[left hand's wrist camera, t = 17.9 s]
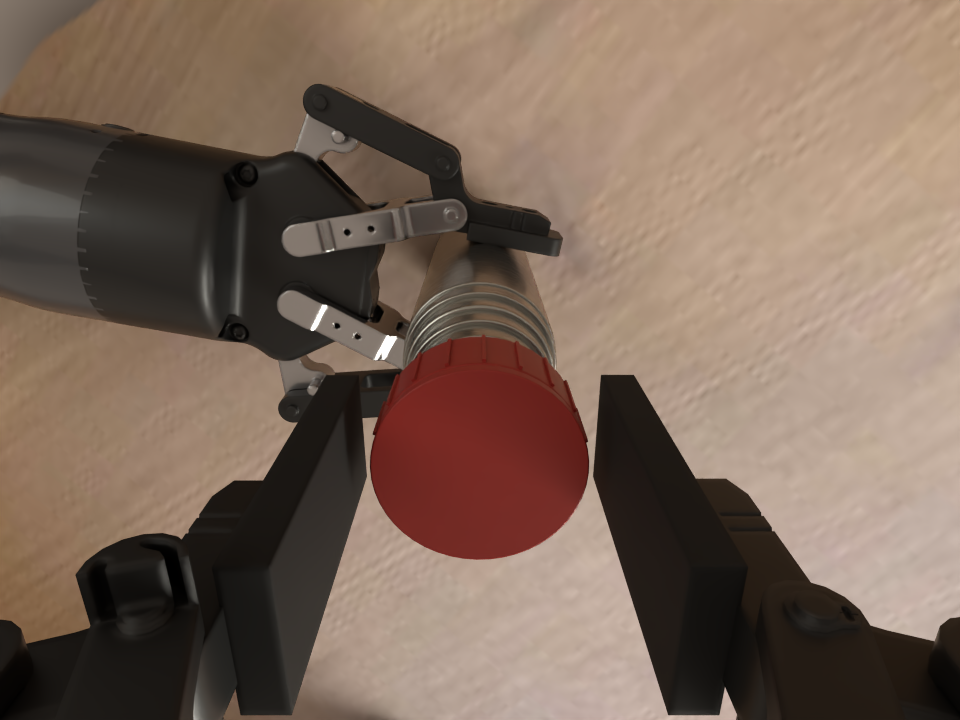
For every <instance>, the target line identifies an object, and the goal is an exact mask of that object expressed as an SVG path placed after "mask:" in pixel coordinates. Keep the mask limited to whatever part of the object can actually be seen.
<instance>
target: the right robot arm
mask: <svg viewBox="0 0 960 720" xmlns="http://www.w3.org/2000/svg"><path fill="white" fill-rule="evenodd" d="M303 105H304V108H305V110H306V112H307V114H306V117H305V120H304V123H303V126H302V128H301V131H300V134H299V137H298V140H297V143H296V146H295V149H294V151H289V152H284V153H281V154H279V155H276V156H273V157H264V156H257V155H252V154H247V153H241V152H236V151H231V150H226V149H221V148H216V147H211V146H205V145H200V144H195V143H190V142H185V141H180V140H175V139H169V138H164V137H159V136H154V135H149V134H144V133H138V132H135V131H134V130H131V129H129V128H126V127H122V126H118V125H113V124H105V125H97V124H92V123H87V122H81V121H74V120H68V119H60V118H47V117H27V116H16V115H9V114H4V113H0V297H3V298H7V299H10V300H14V301H17V302H20V303H23V304H26V305H29V306H32V307H36V308H39V309H43V310H47V311H52V312H57V313H62V314H68V315H74V316H79V317H85V318H91V319H97V320H103V321H108V322H114V323H119V324H125V325H131V326H136V327H142V328H148V329H154V330H160V331H166V332H171V333H177V334H183V335H189V336H194V337H200V338H206V339H211V340H218V341H228V342H241V343H246V344H249V345H251V346H254V347H256V348H257V349H259V350H261V351H262V352H264V353H265V354H266V355H268V356H269V357H271V358H273V359H276V360H278V361H279V366H280V371H281V376H282V380H283V385H284V390H285V396H284V397H283V399H282V400H281V402H280V403H279V406H278V411H279V414H280V415H281V417H282V418H283V419H285V420H286V421H289V422H298V421H299V420H300V418H301V416H302V415H303V413H304V411H305V410H306V408H307V406H308V405H309V403H310V401H311V400H312V398H313V396H314V395H315V393H316V391H317V390H318V388H319V386H320V385H321V383H322V381H323V380H324V378H325V376H326V375H359V382H360V395H361V408H362V418H371V417H378V416H379V413H380V410H381V407H382V404H383V402H384V401H385V402H386V401H387V398H388V395H389V392H390V390H391V388H392V385H393V382H394V379H395V376H396V375H397V374H398V375H400V374H401V372H402V371H403V352H404V342H405V337H406V333H407V330H408V327H409V324H410V321H408V320H406V319H405V318H403V317H402V316H401V314H400V313H399V312H398V311H396V310H395V309H393V308H391V307H389V306H387V305H386V304H384V303H382V302H380V301H378V296H379V288H380V287H379V280H378V272H377V268H378V265H379V263H380V261H381V258H382V256H383V254H384V251H385V243H391V242H397V241H402V240H405V239H408V238H411V237H417V236H424V235H431V234H437V233H444V232H451V231H456V232H461V233H466V234H467V238H466V240H468V241H474V242H479V243H485V244H492V245H496V246H500V247H505V248H511V249H516V250H521V251H527V252H532V253H537V254H543V255H548V256H559V253H560V249H561V244H562V240H563V238H562V236H561V235H560V233H559V232H557V231H554V230H551V229H550V225H551V222H550V221H549V219H548V218H547V217H546V216H544V215H543V214H541V213H540V212H538V211H537V210H532V209H527V208H522V207H517V206H511V205H507V204H501V203H496V202H491V201H486V200H481V199H477V198H475V197H473V196H472V195H471V194H469V192H468V191H467V189H466V187H465V184H464V179H463V173H462V167H461V155H460V152H459V150H458V149H457V148H456V147H455V146H453V145H452V144H450V143H448V142H446V141H444V140H442V139H440V138H438V137H436V136H434V135H432V134H430V133H428V132H426V131H424V130H422V129H420V128H418V127H416V126H414V125H412V124H410V123H408V122H406V121H404V120H402V119H400V118H398V117H396V116H394V115H392V114H390V113H388V112H386V111H384V110H382V109H380V108H378V107H376V106H374V105H372V104H370V103H368V102H366V101H364V100H362V99H360V98H358V97H356V96H354V95H352V94H350V93H348V92H346V91H344V90H342V89H340V88H337V87H333V86H329V85H323V84H315V85H312V86H310V87H309V88H308V89H307V90H306V91H305V93H304V97H303ZM361 143H364V144H366V145H368V146H370V147H372V148H374V149H377V150H379V151H381V152H383V153H385V154H387V155H389V156H391V157H393V158H395V159H397V160H399V161H401V162H403V163H405V164H407V165H409V166H411V167H413V168H415V169H417V170H419V171H421V172H423V173H425V174H428V175H429V178H430V184H431V189H432V194H433V195H426V196H420V197H412V198H409V197H407V198H398V199H391V200H385V201H378V202H371V203H365V202H364V201H363V200H362V199H361V198H360V197H359V196H358V195H357V194H356V193H355V192H354V191H353V190H352V189H351V188H350V187H349V186H348V185H347V184H346V183H345V182H344V181H343V180H342V179H341V178H340V177H339V176H338V175H337V174H336V173H335V172H334V171H333V170H332V169H331V168H330V167H329V166H328V165H327V164H326V163H325V162H324V161H323V160H322V159H323V157H324V156H325V154H326V153H328V152H329V151H336V152H339V153H348V152H352V151H355V150H356V149H357V148H359V146H360V145H361ZM358 334H360V335H358ZM335 341H336V342H338V343H340V344H342V345H344V346H346V347H348V348H350V349H352V350H354V351H356V352H358V353H360V354H362V355H364V356H366V357H368V358H370V359H372V360H377V361H379V360H383V361H386V362H388V363H390V364H392V365H394V366H396V367H398V368H400V369H385V370H370V371H355V372H340V373H335V372H334V370H333V369H332V368H331V367H330V366H329V365H327V364H323V363H316V362H313V361H312V360H310V359H309V358H308V357H307V354H309V353H311V352H313V351H315V350H317V349H320V348H322V347H324V346H326V345H328V344H330V343H333V342H335Z"/></svg>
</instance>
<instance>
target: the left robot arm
mask: <svg viewBox="0 0 960 720" xmlns="http://www.w3.org/2000/svg"><path fill="white" fill-rule="evenodd" d="M366 477H367V472H366V460H365V447H364V434H363V421H362V408H361V395H360V382H359V375H326V376H325V378H324V380H323V381H322V383H321V385H320V386H319V388H318V390H317V391H316V393H315V395H314V396H313V398H312V400H311V401H310V403H309V405H308V406H307V408H306V410H305V411H304V413H303V415H302V416H301V418H300V420H299V421H298V423H297V425H296V426H295V428H294V430H293V432H292V433H291V435H290V437H289V438H288V440H287V442H286V443H285V445H284V447H283V448H282V450H281V452H280V453H279V455H278V457H277V458H276V460H275V462H274V463H273V465H272V467H271V468H270V470H269V472H268V473H267V475H266V477H265V478H264V480H263V481H233V482H232V483H230V484H229V485H227V486H226V487H225V488H223V489H222V490H220V491H219V492H218V493H216V494H215V495H213V496H212V497H211V499H210V500H209V502H208V503H207V504H206V506H205V507H204V509H203V510H202V512H201V513H200V514H199V518H197V519H196V520H195V521H194V523H193V524H192V526H191V527H190V529H189V533H188V534H185V536H184V537H183V538H182V540H181V539H180V538H179V537H177V536H173V535H168V534H164V533H158V534H143V535H139V536H135V537H131V538H127V539H123V540H121V541H119V542H117V543H114V544H112V545H110V546H108V547H106V548H104V549H102V550H100V551H99V552H98V553H96V554H95V555H94V556H92V557H91V558H90V559H88V560H87V561H86V562H85V563H84V564H83V566H82V567H81V568H80V570H79V571H78V572H77V574H76V578H77V582H78V585H79V588H80V592H81V595H82V598H83V602H84V605H85V608H86V612H87V615H88V619H89V622H90V628H89V629H85V630H82V631H79V632H75V633H71V634H67V635H62V636H58V637H54V638H50V639H45V640H41V641H37V642H32V643H28V644H26V642H25V639H24V636H23V633H22V631H21V628H19V627H18V626H17V625H16V624H14V623H13V622H12V621H7V620H0V720H224V718H223V716H224V714H225V712H226V709H227V707H228V705H229V702H230V700H231V698H232V695H233V693H234V691H235V689H236V694H237V699H238V704H239V709H240V714H241V715H292V712H293V709H294V706H295V703H296V700H297V696H298V693H299V690H300V687H301V684H302V681H303V677H304V674H305V671H306V668H307V665H308V662H309V658H310V655H311V652H312V649H313V646H314V643H315V639H316V636H317V633H318V630H319V627H320V623H321V620H322V617H323V614H324V611H325V608H326V604H327V601H328V598H329V595H330V592H331V589H332V585H333V582H334V579H335V576H336V573H337V570H338V566H339V563H340V560H341V557H342V554H343V550H344V547H345V544H346V541H347V538H348V535H349V531H350V528H351V525H352V522H353V519H354V516H355V512H356V509H357V506H358V503H359V500H360V497H361V493H362V490H363V487H364V484H365V481H366ZM593 477H594V481H595V484H596V487H597V490H598V493H599V497H600V500H601V503H602V506H603V509H604V512H605V516H606V519H607V522H608V525H609V528H610V531H611V535H612V538H613V541H614V544H615V547H616V550H617V554H618V557H619V560H620V563H621V566H622V570H623V573H624V576H625V579H626V582H627V585H628V589H629V592H630V595H631V598H632V601H633V604H634V608H635V611H636V614H637V617H638V620H639V623H640V627H641V630H642V633H643V636H644V639H645V643H646V646H647V649H648V652H649V655H650V658H651V662H652V665H653V668H654V671H655V674H656V677H657V681H658V684H659V687H660V690H661V693H662V696H663V700H664V703H665V706H666V709H667V712H668V715H719V714H720V709H721V704H722V699H723V694H724V689H725V688H726V690H727V692H728V694H729V697H730V699H731V701H732V704H733V706H734V708H735V711H736V713H737V718H736V720H960V617H957V618H950V619H948V620H947V621H946V622H945V623H943V624H942V625H941V626H940V628H939V631H938V633H937V636H936V639H935V641H930V640H926V639H922V638H917V637H913V636H909V635H904V634H900V633H896V632H891V631H887V630H883V629H880V628H877V627H873V626H870V624H869V623H868V621H867V620H866V618H865V617H864V615H863V614H862V612H861V611H860V609H858V608H857V607H856V606H855V605H854V604H852V603H851V602H850V601H849V600H848V599H846V598H845V597H844V596H842V595H840V594H838V593H836V592H834V591H832V590H830V589H828V588H826V587H824V586H820V585H817V584H813V583H811V582H810V581H809V579H808V578H807V576H806V575H805V574H804V572H803V571H802V569H801V568H800V567H799V565H798V564H797V562H796V561H795V560H794V558H793V557H792V555H791V554H790V553H789V551H788V550H787V548H786V547H785V546H784V544H783V543H782V541H781V540H780V538H779V537H778V536H777V534H776V533H775V531H772V527H771V526H770V524H769V523H768V522H767V520H766V519H765V517H764V516H761V512H760V510H759V509H758V508H757V506H756V505H755V503H754V502H753V501H752V499H751V498H750V496H749V495H748V494H747V493H745V492H744V491H743V490H741V489H740V488H738V487H737V486H736V485H734V484H733V483H731V482H730V481H729V480H727V479H696V478H695V477H694V475H693V473H692V472H691V470H690V468H689V467H688V465H687V463H686V462H685V460H684V458H683V457H682V455H681V453H680V452H679V450H678V448H677V447H676V445H675V443H674V442H673V440H672V438H671V437H670V435H669V433H668V432H667V430H666V428H665V426H664V425H663V423H662V421H661V420H660V418H659V416H658V415H657V413H656V411H655V410H654V408H653V406H652V405H651V403H650V401H649V400H648V398H647V396H646V395H645V393H644V391H643V390H642V388H641V386H640V385H639V383H638V381H637V380H636V378H635V376H634V375H601V382H600V395H599V408H598V421H597V434H596V447H595V460H594V472H593Z"/></svg>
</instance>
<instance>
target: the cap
mask: <svg viewBox="0 0 960 720" xmlns="http://www.w3.org/2000/svg"><path fill="white" fill-rule="evenodd" d="M373 435H375V437H374V440H373V444H372V450H371V455H370V472H371V480H372V484H373V487H374V491H375V494H376V496H377V498H378V501H379V503H380V505H381V506H382V508H383V510H384V511H385V513H386V514H387V516H388V517H389V518H390V519H391V521H392V522H393V523H394V524H395V525H396V526H397V527H398V528H399V529H400V530H401V531H402V532H403V533H404V534H406V535H407V536H408V537H410V538H411V539H412V540H414V541H415V542H417V543H419V544H421V545H422V546H424V547H426V548H429V549H431V550H433V551H436V552H438V553H442V554H445V555H448V556H452V557H458V558H463V559H476V560H478V559H495V558H502V557H507V556H511V555H515V554H518V553H521V552H523V551H526V550H529V549H531V548H533V547H535V546H537V545H539V544H540V543H542V542H543V541H545V540H547V539H548V538H550V537H551V536H552V535H553V534H555V533H556V532H557V531H558V530H559V529H560V528H561V527H562V526H563V525H564V524H565V523H566V522H567V521H568V520H569V519H570V517H571V516H572V514H573V513H574V511H575V510H576V508H577V507H578V505H579V503H580V501H581V499H582V497H583V494H584V491H585V488H586V485H587V479H588V474H589V456H588V448H587V444H586V442H588V439H587V436H586V433H585V430H584V427H583V424H582V421H581V418H580V415H579V412H578V409H577V408H576V406H575V403H574V400H573V397H572V394H571V391H570V388H569V385H568V382H567V381H566V380H565V381H563V379H562V378H561V376H560V375H559V374H558V372H557V371H556V370H555V369H554V368H553V366H551V365H550V364H549V362H548V359H547V358H546V357H544V358H542V357H541V356H540V355H538V354H537V353H535V352H534V351H532V350H530V349H528V348H526V347H524V346H522V345H520V344H519V342H518V341H515V343H514V342H511V341H508V340H504V339H499V338H495V337H486V335H482V337H466V338H460V339H455V340H452V339H451V338H450V339H448V342H444V343H442V344H440V345H437V346H435V347H433V348H431V349H429V350H427V351H426V352H424V353H421V352H420V353H418V355H417V358H416V359H414V360H413V361H412V362H411V363H410V364H409V365H408V366H407V367H406V368H405V369H404V370H403V371H402V372H401V374H400V375H398V374H397V375H396V376H395V379H394V382H393V385H392V388H391V390H390V392H389V395H388V398H387V401H386V402H385V401H384V402H383V404H382V407H381V410H380V413H379V416H378V419H377V422H376V425H375V428H374V431H373Z"/></svg>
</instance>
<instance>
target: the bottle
mask: <svg viewBox="0 0 960 720" xmlns="http://www.w3.org/2000/svg"><path fill="white" fill-rule="evenodd" d="M466 238H467V234H466V233H461V232H456V231H451V232H444V233H442V234H441V236H440V238H439V240H438V242H437V245H436V247H435V250H434V253H433V256H432V259H431V262H430V265H429V268H428V271H427V274H426V277H425V280H424V283H423V286H422V289H421V292H420V295H419V298H418V301H417V304H416V306H415V309H414V312H413V315H412V318H411V321H410V324H409V327H408V330H407V333H406V337H405V342H404V352H403V370H404V369H405V368H406V367H407V366H408V365H409V364H410V363H411V362H412V361H413V360H414V359H416V358H417V355H418V353H420V352H421V353H424V352H426V351H427V350H429V349H431V348H433V347H435V346H437V345H440V344H442V343H444V342H448V339H450V338H451V339H452V340H455V339H460V338H466V337H482V335H486V337H495V338H499V339H504V340H508V341H511V342H514V343H515V341H518V342H519V344H520V345H522V346H524V347H526V348H528V349H530V350H532V351H534V352H535V353H537V354H538V355H540V356H541V357H542V358H544V357H546V358H547V359H548V362H549V364H550V365H551V366H553V368H554V369H555V370H556V362H557V361H556V351H555V341H554V337H553V333H552V330H551V327H550V324H549V321H548V318H547V315H546V312H545V309H544V306H543V303H542V300H541V297H540V294H539V291H538V288H537V285H536V282H535V279H534V276H533V273H532V270H531V268H530V265H529V262H528V259H527V256H526V253H525V251H521V250H516V249H511V248H505V247H500V246H496V245H492V244H485V243H479V242H474V241H468V240H466Z"/></svg>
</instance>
